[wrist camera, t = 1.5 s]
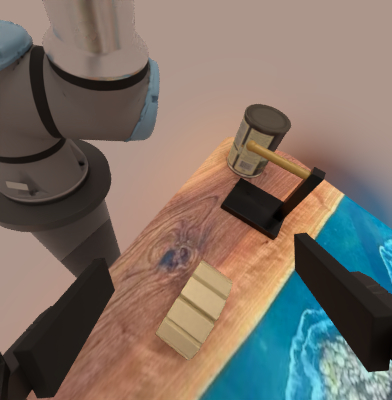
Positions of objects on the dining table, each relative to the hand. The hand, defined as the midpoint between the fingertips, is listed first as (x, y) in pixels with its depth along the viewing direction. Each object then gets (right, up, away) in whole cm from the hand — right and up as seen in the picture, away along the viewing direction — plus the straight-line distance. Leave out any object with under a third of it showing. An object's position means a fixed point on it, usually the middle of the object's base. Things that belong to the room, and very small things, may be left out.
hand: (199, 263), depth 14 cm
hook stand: (+13, +2, +33) cm, 36 cm away
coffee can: (+13, +14, +42) cm, 46 cm away
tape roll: (0, -10, +14) cm, 17 cm away
